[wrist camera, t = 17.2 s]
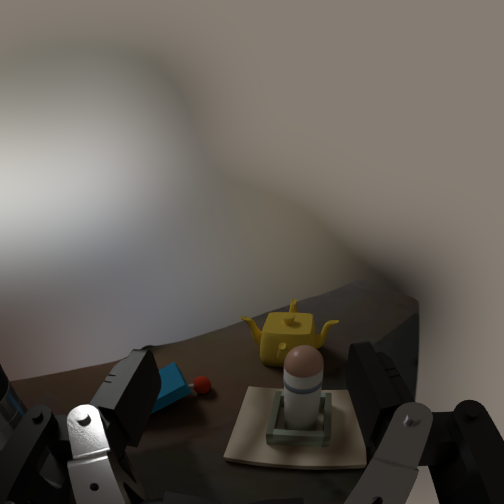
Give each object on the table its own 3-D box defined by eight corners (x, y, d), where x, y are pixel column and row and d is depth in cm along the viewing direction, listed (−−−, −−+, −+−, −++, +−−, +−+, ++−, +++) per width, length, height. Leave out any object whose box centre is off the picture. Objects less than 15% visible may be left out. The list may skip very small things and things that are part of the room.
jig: (224, 460, 31) (220, 446, 30) (249, 390, 46) (247, 374, 45) (364, 467, 27) (371, 454, 25) (359, 393, 42) (363, 377, 40)
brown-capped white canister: (281, 436, 34) (280, 361, 30) (286, 411, 39) (285, 336, 34) (316, 437, 33) (325, 362, 28) (318, 413, 38) (325, 337, 33)
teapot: (336, 355, 53) (340, 316, 51) (283, 386, 47) (282, 345, 44) (293, 328, 66) (292, 293, 63) (243, 350, 59) (239, 313, 56)
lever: (139, 439, 39) (220, 396, 45) (116, 419, 36) (203, 373, 42) (133, 415, 44) (206, 375, 51) (112, 394, 42) (191, 352, 48)
